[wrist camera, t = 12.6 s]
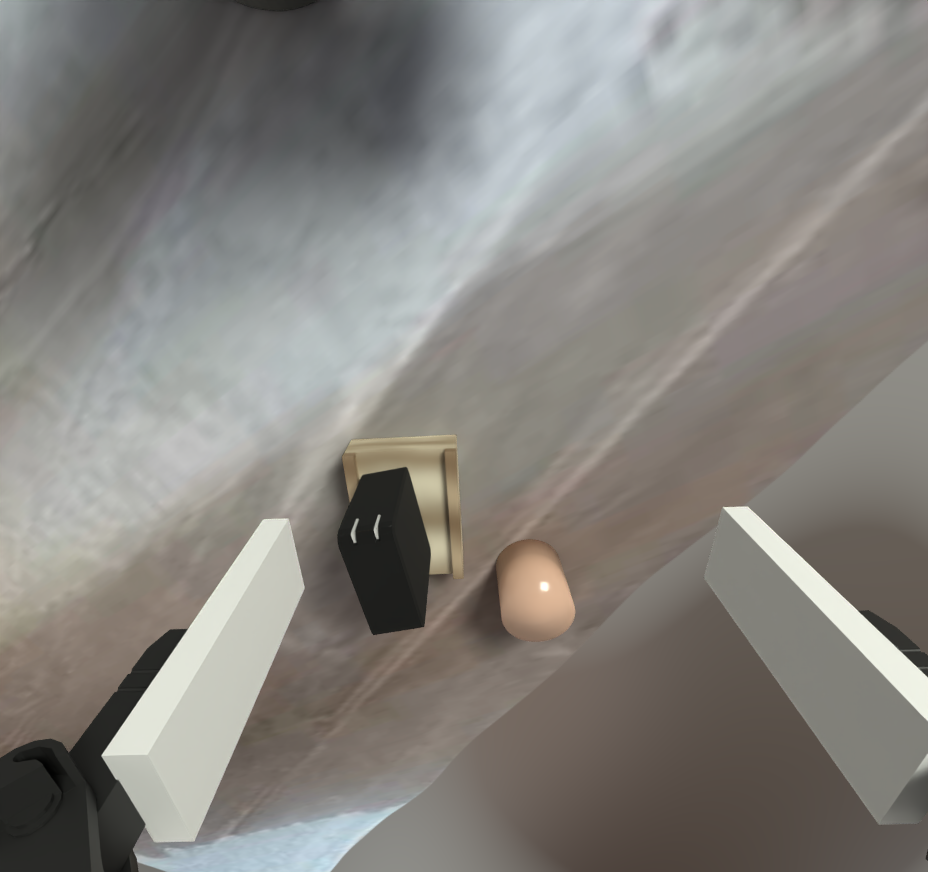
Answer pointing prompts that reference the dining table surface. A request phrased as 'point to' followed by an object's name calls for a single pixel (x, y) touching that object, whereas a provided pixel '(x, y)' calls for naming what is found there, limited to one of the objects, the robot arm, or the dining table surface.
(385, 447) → the stand
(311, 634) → the dining table surface
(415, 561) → the electronic device
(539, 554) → the peach rounded cylinder
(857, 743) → the robot arm
